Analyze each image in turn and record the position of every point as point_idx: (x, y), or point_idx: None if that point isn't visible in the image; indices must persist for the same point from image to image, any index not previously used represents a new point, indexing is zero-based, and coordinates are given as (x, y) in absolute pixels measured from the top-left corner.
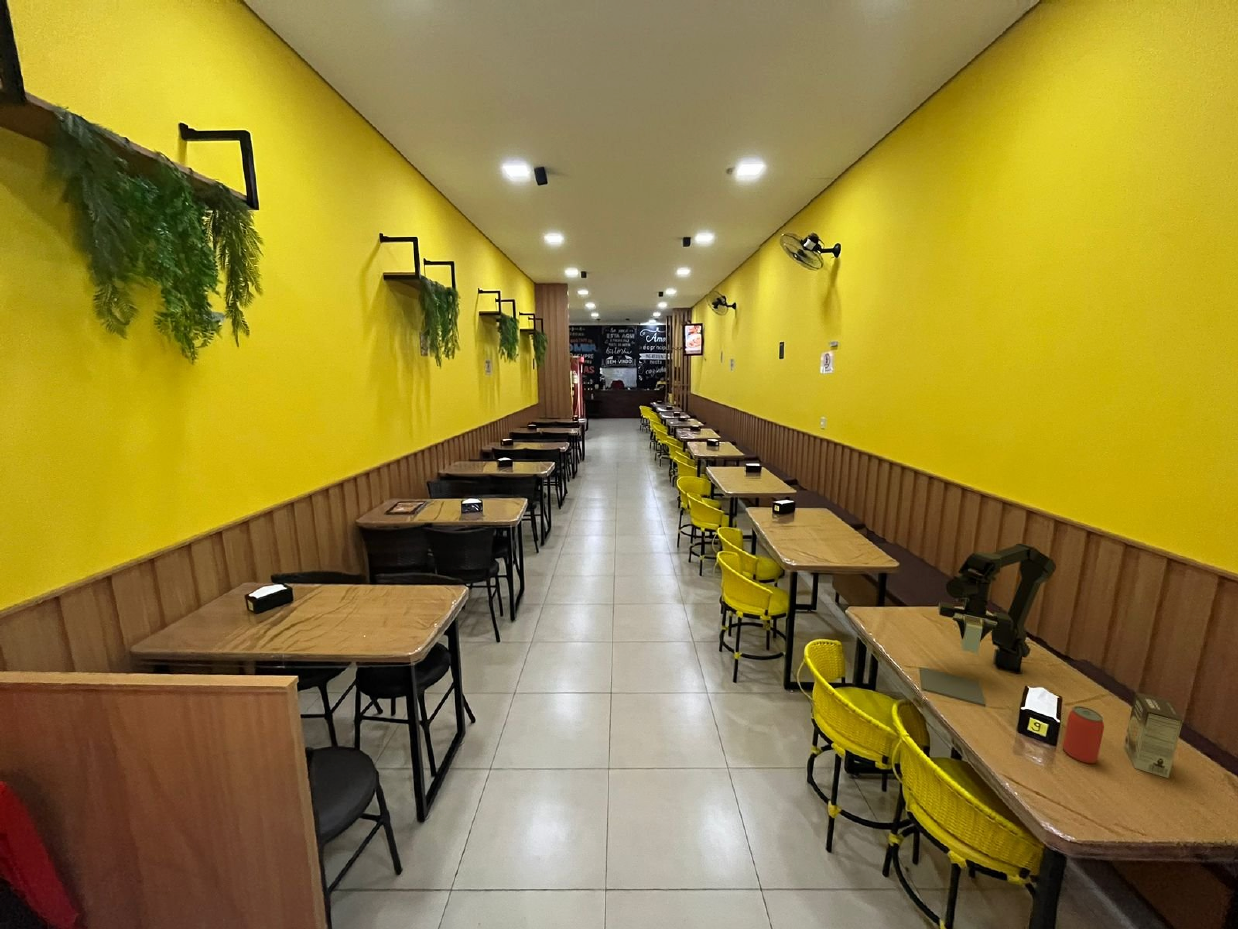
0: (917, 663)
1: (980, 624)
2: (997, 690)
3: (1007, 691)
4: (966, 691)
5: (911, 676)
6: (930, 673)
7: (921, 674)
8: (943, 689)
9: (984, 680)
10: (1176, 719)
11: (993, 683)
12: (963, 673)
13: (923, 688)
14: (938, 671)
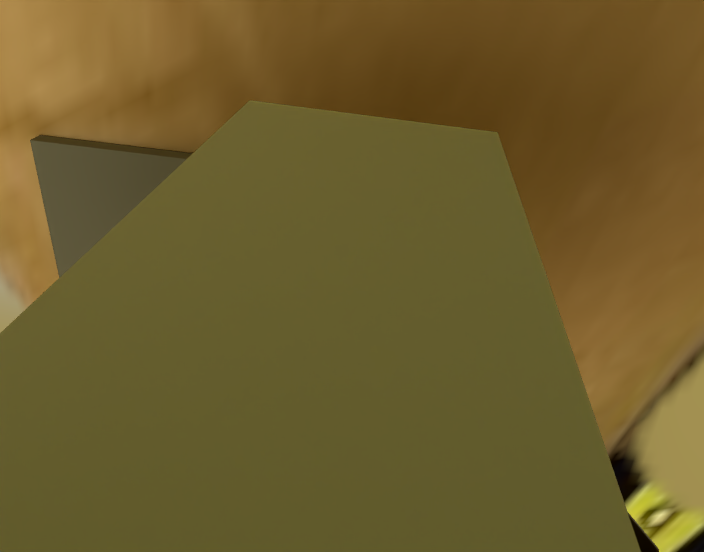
0: (10, 43)
1: None
2: (597, 248)
3: (682, 235)
4: None
5: (13, 275)
6: (116, 220)
7: (60, 258)
8: None
9: (553, 121)
10: None
11: (619, 145)
12: (392, 62)
13: None
14: (172, 160)
